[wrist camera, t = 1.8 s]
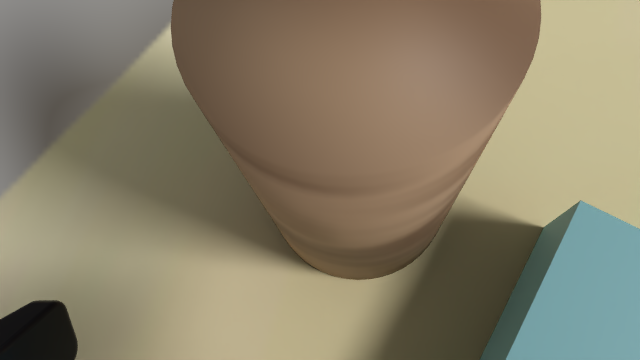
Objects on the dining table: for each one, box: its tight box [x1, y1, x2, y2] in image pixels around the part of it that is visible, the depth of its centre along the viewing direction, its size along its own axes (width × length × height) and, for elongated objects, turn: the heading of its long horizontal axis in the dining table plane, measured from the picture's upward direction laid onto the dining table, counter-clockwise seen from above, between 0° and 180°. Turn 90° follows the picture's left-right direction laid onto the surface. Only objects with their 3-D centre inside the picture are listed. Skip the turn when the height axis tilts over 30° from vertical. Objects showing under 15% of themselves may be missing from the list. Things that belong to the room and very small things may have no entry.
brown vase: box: [171, 0, 541, 280], centre depth 15 cm, size 7×7×12 cm
